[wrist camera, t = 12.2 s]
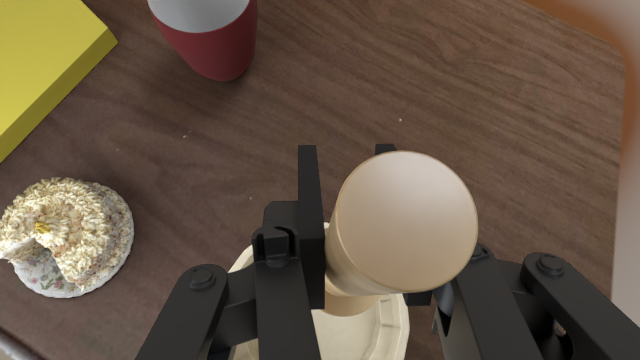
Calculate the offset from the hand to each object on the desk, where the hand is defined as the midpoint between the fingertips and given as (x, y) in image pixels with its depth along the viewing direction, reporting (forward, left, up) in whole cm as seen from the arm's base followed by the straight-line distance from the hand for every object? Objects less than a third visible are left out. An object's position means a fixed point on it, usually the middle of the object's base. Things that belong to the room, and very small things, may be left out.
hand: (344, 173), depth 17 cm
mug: (+9, -19, -18) cm, 28 cm away
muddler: (0, +4, -5) cm, 6 cm away
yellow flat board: (+30, -16, -18) cm, 39 cm away
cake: (+21, -1, -18) cm, 28 cm away
